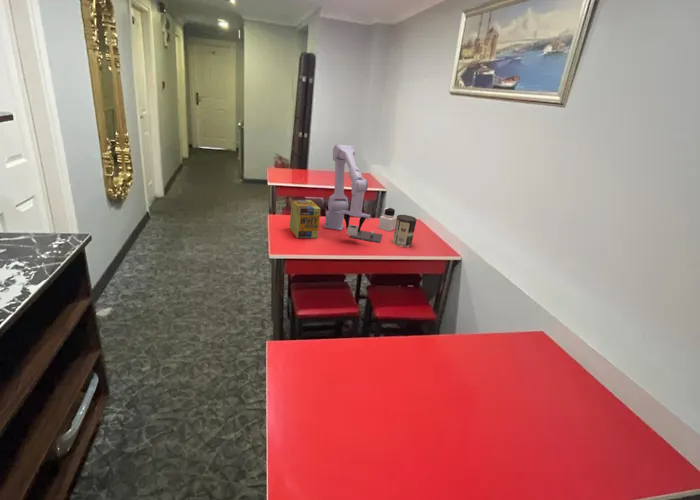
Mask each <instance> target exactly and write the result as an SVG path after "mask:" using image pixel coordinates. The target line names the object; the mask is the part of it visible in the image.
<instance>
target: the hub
mask: <svg viewBox="0 0 700 500" xmlns="http://www.w3.org/2000/svg"><path fill="white" fill-rule="evenodd" d="M358 228H359V225H355V224H350V223H349V226H348V227H347V230H346V235H349V236H350V235H354V236H357V235H358V233H359V232H358Z"/></svg>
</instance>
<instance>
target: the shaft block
mask: <svg viewBox="0 0 700 500" xmlns="http://www.w3.org/2000/svg"><path fill="white" fill-rule="evenodd" d="M349 239H355V240H360V241H361V240H362V241H365V242H371V243H378V244H381V241H382V239H383V234H382V233H377V232H375V231H374V230H371V231H365V230H362V229H360V232H359V233H358V235H357V236H354V235H349Z"/></svg>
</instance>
